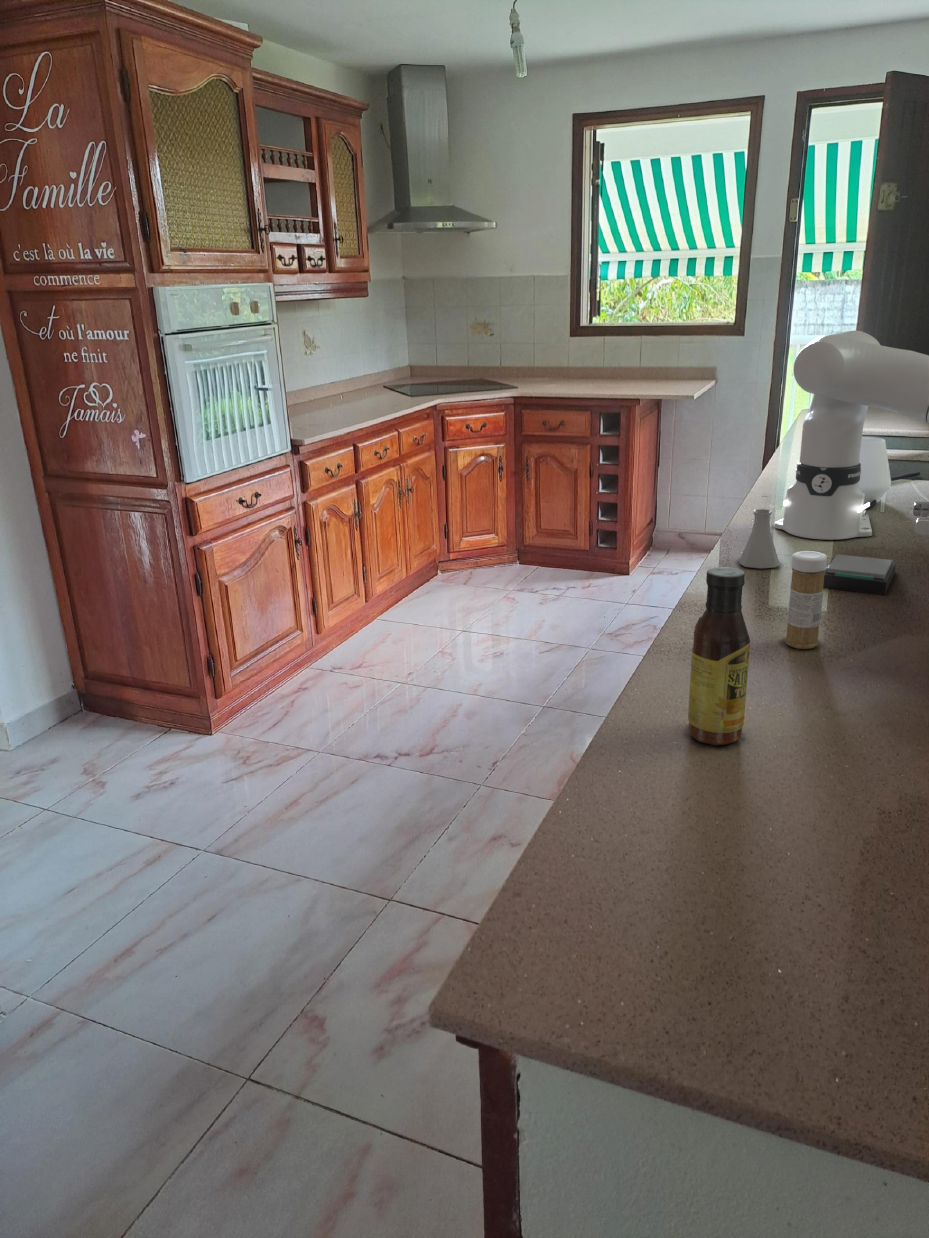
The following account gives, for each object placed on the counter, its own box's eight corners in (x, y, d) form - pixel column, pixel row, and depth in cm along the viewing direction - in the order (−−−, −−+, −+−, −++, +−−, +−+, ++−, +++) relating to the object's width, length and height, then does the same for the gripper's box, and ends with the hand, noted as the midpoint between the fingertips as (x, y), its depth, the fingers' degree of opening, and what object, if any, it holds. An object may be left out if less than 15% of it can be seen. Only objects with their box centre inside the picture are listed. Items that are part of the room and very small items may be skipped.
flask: (781, 570, 158) (786, 516, 155) (739, 569, 160) (743, 515, 156) (776, 558, 165) (781, 506, 161) (736, 558, 166) (740, 506, 163)
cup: (893, 496, 206) (901, 436, 201) (884, 508, 196) (892, 446, 191) (832, 491, 213) (838, 433, 208) (820, 503, 202) (826, 442, 198)
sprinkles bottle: (801, 636, 129) (809, 548, 124) (825, 646, 125) (835, 555, 121) (777, 642, 127) (785, 553, 123) (801, 652, 123) (810, 561, 119)
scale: (833, 567, 158) (835, 551, 157) (894, 574, 153) (896, 557, 152) (820, 587, 149) (822, 570, 148) (884, 594, 144) (887, 577, 143)
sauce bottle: (733, 753, 98) (745, 584, 91) (679, 740, 102) (687, 577, 95) (749, 728, 103) (762, 567, 97) (697, 717, 107) (706, 560, 100)
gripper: (1046, 572, 101) (913, 562, 107) (1023, 528, 119) (909, 521, 124) (1057, 518, 99) (920, 512, 105) (1031, 481, 117) (915, 477, 122)
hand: (914, 517), depth 115 cm, fingers open, 8 cm apart
